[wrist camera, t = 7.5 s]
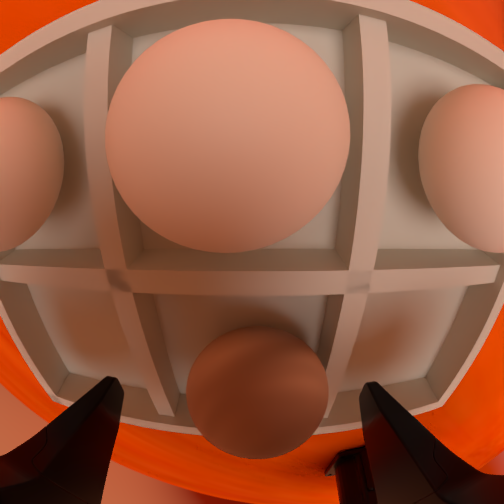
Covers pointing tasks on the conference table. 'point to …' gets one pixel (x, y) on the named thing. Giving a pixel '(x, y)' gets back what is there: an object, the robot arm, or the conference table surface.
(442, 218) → the cream egg
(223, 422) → the egg brown
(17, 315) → the egg tray
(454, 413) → the conference table surface
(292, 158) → the cream egg
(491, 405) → the conference table surface
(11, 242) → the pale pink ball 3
